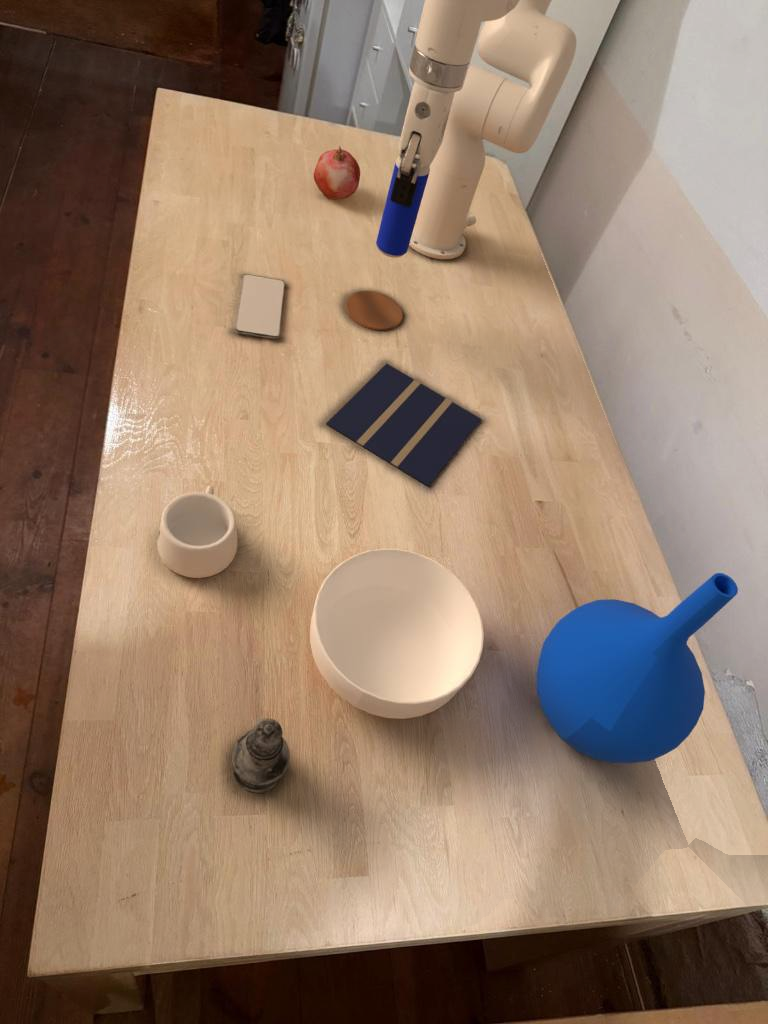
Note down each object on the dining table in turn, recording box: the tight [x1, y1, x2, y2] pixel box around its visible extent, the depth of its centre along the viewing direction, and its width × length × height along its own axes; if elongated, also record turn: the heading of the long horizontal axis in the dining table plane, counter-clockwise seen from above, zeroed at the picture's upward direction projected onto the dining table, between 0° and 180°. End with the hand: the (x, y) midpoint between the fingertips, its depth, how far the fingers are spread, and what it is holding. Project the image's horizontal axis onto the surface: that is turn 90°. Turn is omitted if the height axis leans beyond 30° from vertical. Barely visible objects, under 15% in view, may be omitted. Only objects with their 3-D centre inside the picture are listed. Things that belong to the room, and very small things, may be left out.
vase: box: [536, 572, 739, 764], centre depth 80 cm, size 18×18×30 cm
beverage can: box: [375, 154, 430, 259], centre depth 113 cm, size 5×5×15 cm
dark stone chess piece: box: [231, 717, 291, 794], centre depth 74 cm, size 6×6×12 cm
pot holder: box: [325, 363, 482, 488], centre depth 114 cm, size 18×18×1 cm
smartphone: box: [234, 273, 286, 340], centre depth 122 cm, size 7×1×15 cm
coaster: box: [345, 290, 403, 331], centre depth 129 cm, size 10×10×1 cm
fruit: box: [313, 145, 361, 200], centre depth 145 cm, size 9×10×10 cm
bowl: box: [309, 547, 485, 720], centre depth 87 cm, size 20×20×8 cm
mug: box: [156, 485, 239, 579], centre depth 91 cm, size 12×10×6 cm
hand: (405, 193), depth 111 cm, fingers closed on beverage can, 5 cm apart
